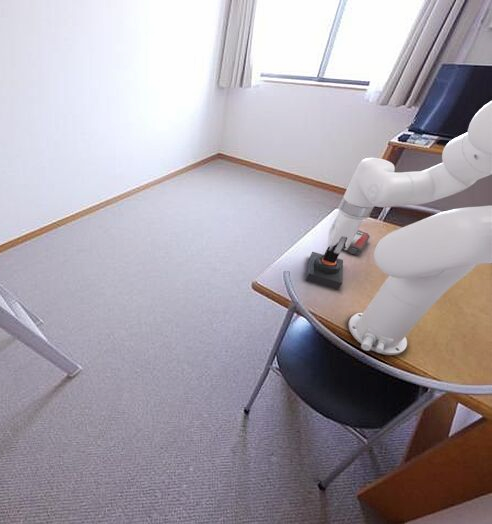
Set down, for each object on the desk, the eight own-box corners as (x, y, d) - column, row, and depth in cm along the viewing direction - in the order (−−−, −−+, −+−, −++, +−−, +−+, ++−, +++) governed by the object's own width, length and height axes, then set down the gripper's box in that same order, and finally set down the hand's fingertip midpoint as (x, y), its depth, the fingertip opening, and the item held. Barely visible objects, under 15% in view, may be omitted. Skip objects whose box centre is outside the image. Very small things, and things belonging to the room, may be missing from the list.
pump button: (333, 271, 93) (336, 266, 92) (319, 267, 95) (321, 262, 93) (334, 263, 96) (336, 258, 95) (320, 259, 97) (322, 255, 96)
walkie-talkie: (342, 231, 116) (323, 255, 104) (347, 220, 113) (328, 245, 102) (368, 240, 111) (351, 267, 100) (374, 230, 108) (357, 256, 97)
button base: (338, 290, 92) (345, 277, 89) (305, 280, 95) (311, 268, 92) (339, 266, 100) (345, 254, 97) (309, 258, 103) (314, 246, 100)
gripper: (341, 191, 89) (317, 243, 101) (339, 216, 79) (313, 270, 91) (371, 197, 86) (343, 250, 98) (373, 224, 76) (341, 279, 88)
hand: (328, 259), depth 94 cm, fingers closed
